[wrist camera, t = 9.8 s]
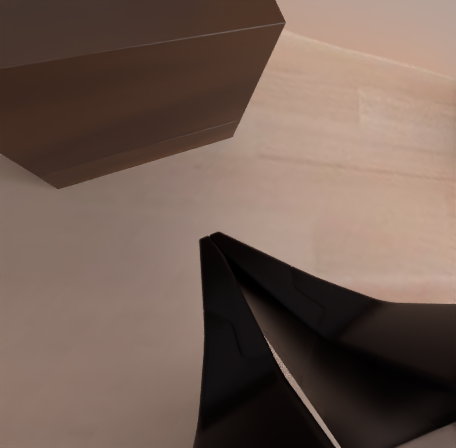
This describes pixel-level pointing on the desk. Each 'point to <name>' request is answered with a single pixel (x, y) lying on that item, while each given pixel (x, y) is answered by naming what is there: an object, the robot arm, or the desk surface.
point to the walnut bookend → (125, 79)
